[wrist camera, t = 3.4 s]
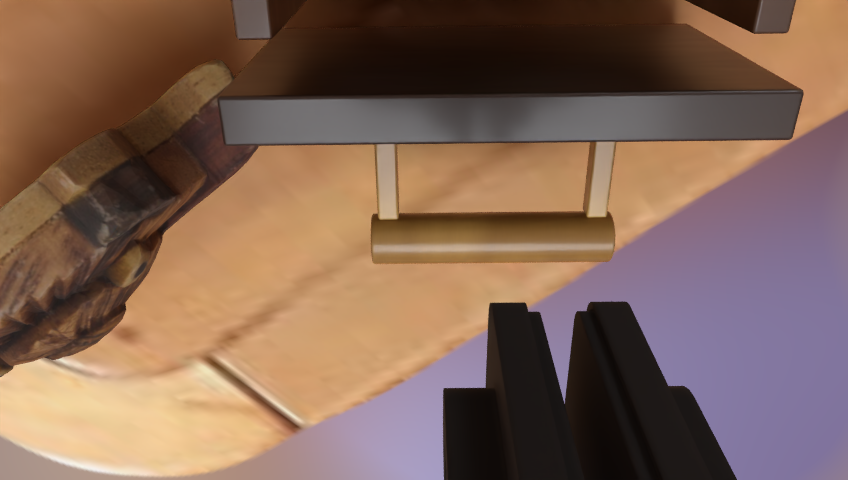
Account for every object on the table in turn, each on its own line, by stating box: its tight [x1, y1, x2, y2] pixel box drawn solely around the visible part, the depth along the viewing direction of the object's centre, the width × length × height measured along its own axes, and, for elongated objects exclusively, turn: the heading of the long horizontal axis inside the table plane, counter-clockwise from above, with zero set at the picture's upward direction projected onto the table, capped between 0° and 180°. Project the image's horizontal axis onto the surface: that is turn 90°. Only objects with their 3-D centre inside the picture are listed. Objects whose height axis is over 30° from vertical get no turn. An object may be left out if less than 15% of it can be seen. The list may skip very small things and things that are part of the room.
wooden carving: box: [0, 59, 258, 377], centre depth 21 cm, size 16×5×10 cm, turn 133°
